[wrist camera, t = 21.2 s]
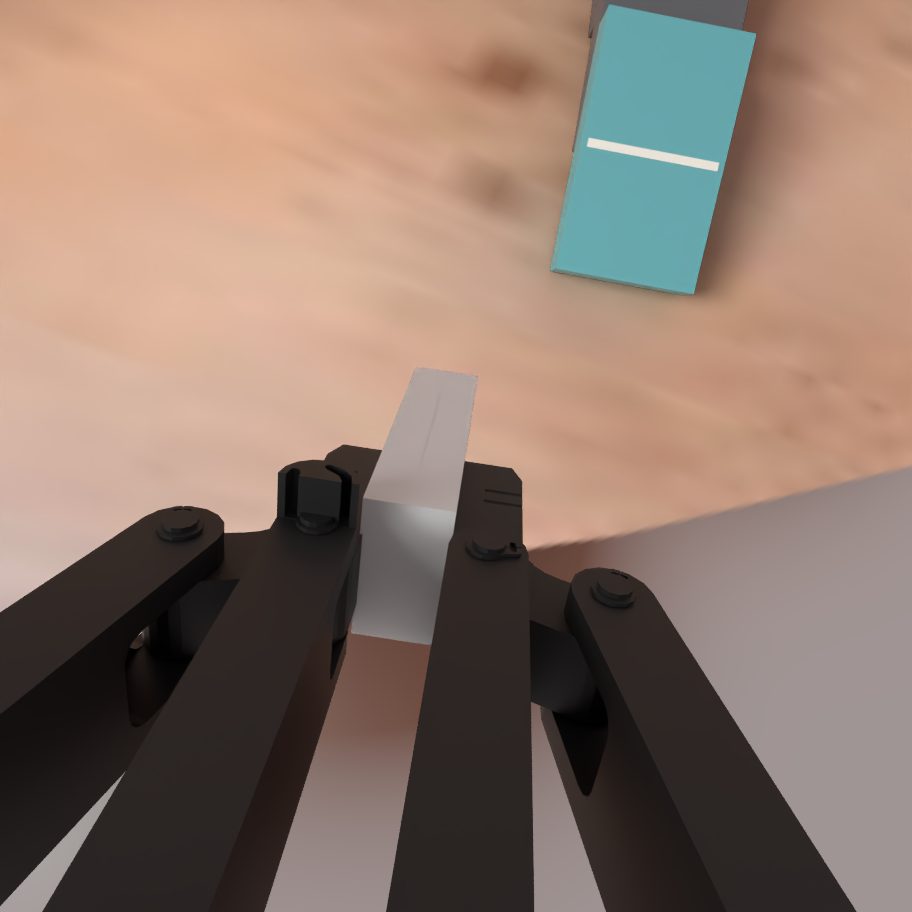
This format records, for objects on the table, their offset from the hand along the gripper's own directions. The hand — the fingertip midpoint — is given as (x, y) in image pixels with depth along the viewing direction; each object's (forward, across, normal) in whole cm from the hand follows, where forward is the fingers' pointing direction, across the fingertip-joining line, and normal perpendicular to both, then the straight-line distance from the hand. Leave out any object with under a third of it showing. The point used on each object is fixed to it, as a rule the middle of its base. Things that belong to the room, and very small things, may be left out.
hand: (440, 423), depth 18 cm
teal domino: (+22, +7, 0) cm, 23 cm away
